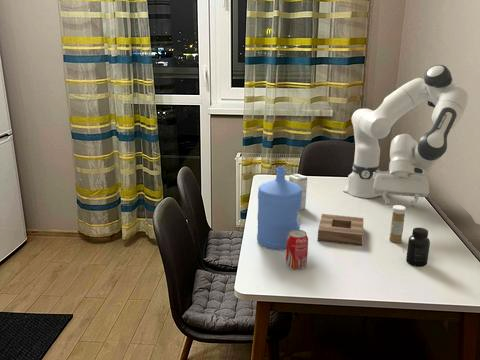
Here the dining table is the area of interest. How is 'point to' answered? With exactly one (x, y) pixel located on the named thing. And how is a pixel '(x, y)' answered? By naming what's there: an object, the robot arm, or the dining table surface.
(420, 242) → the supplement bottle
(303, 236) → the soda can
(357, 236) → the socket block
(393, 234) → the sprinkles bottle
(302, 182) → the syrup box
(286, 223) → the water jug
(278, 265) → the dining table surface
